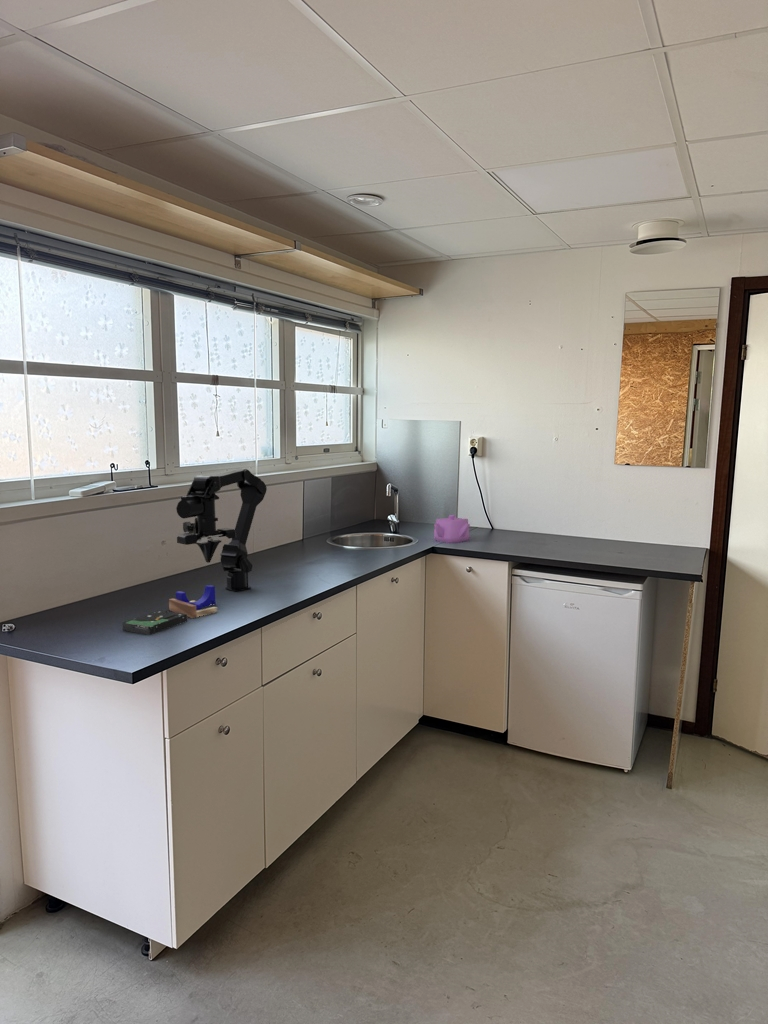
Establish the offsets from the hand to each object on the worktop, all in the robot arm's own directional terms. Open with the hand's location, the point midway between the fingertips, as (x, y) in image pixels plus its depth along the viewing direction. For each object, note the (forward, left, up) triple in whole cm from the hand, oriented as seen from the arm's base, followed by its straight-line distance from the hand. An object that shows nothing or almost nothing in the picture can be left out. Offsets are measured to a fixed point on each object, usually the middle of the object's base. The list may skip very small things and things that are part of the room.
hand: (208, 562), depth 226 cm
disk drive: (+27, +15, -13) cm, 34 cm away
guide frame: (+11, +10, -12) cm, 19 cm away
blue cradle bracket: (+9, +7, -12) cm, 17 cm away
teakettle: (-140, -9, -12) cm, 141 cm away
